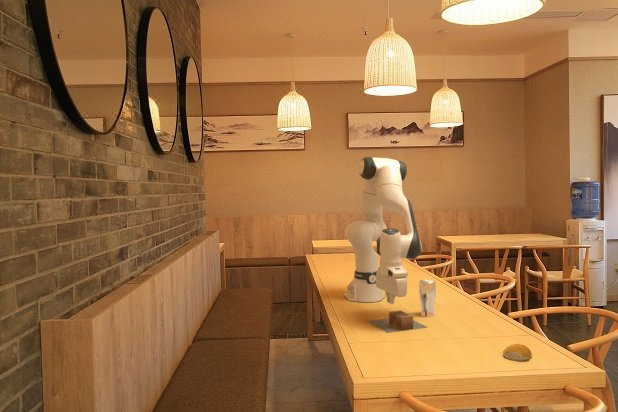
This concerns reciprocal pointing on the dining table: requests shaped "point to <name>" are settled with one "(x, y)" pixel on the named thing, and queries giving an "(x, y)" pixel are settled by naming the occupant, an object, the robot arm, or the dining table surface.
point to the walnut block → (401, 320)
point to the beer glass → (427, 297)
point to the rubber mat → (388, 328)
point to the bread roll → (517, 352)
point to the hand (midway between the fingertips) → (390, 303)
